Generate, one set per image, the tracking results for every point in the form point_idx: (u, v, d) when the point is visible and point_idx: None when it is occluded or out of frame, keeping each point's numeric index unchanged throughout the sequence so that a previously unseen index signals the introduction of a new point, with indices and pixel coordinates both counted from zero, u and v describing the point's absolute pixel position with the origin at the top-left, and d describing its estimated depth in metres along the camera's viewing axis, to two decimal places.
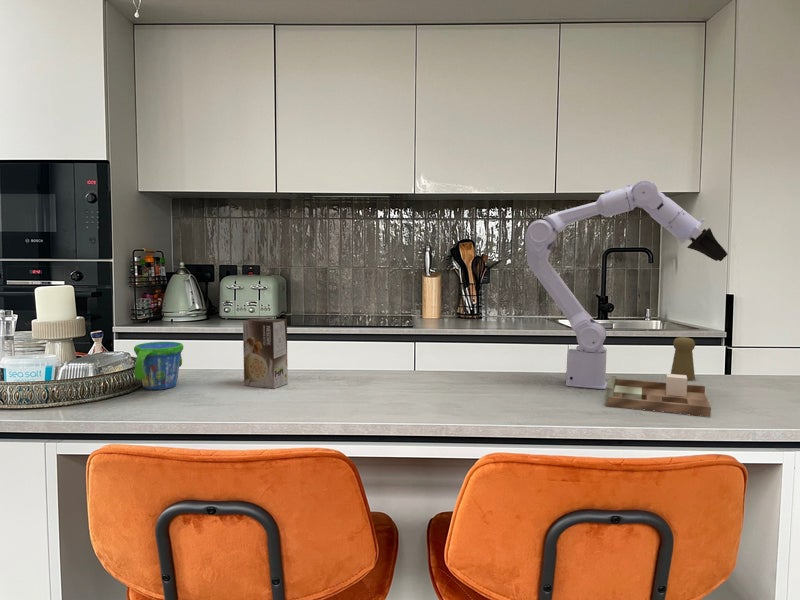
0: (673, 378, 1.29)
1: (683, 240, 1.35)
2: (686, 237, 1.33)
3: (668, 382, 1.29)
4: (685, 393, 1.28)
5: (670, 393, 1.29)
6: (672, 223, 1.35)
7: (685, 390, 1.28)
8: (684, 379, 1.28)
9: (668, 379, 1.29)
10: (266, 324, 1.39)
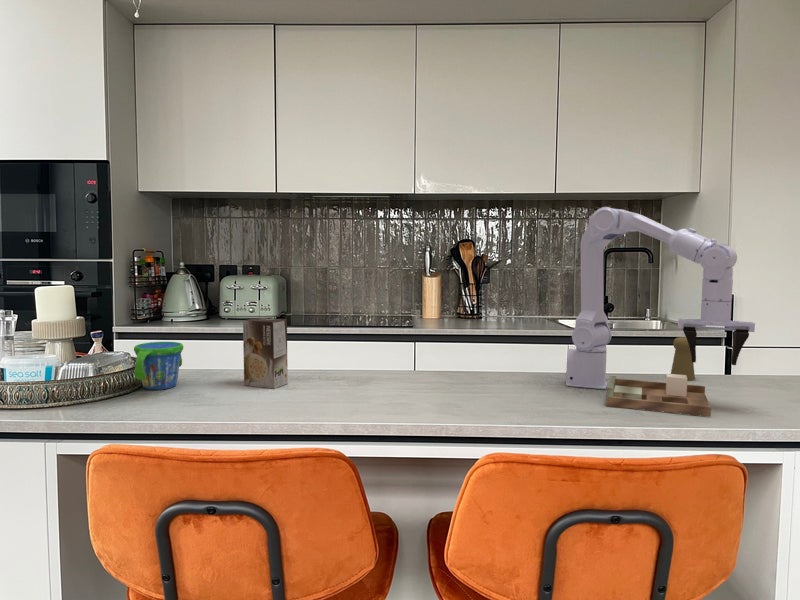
0: (673, 378, 1.29)
1: None
2: None
3: (668, 382, 1.29)
4: (685, 393, 1.28)
5: (670, 393, 1.29)
6: None
7: (685, 390, 1.28)
8: (684, 379, 1.28)
9: (668, 379, 1.29)
10: (266, 324, 1.39)
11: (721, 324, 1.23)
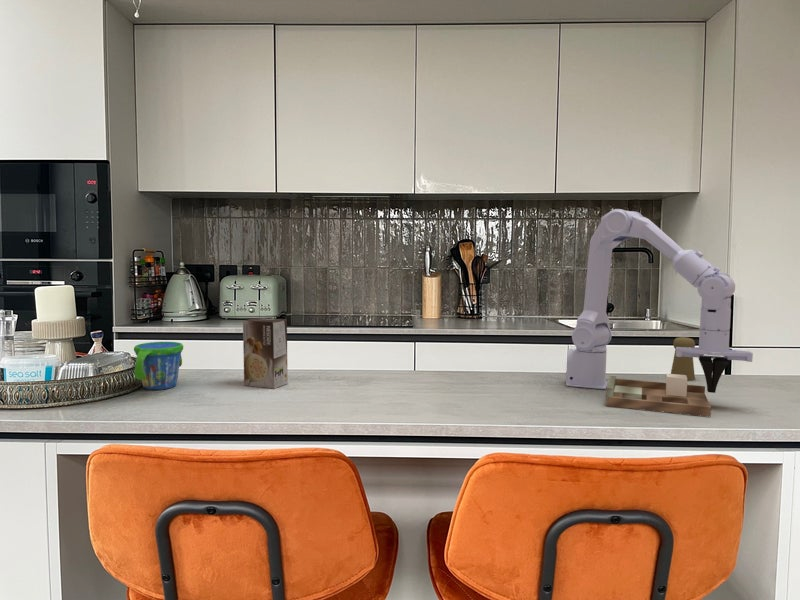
0: (673, 378, 1.29)
1: None
2: None
3: (668, 382, 1.29)
4: (685, 393, 1.28)
5: (670, 393, 1.29)
6: None
7: (685, 390, 1.28)
8: (684, 379, 1.28)
9: (668, 379, 1.29)
10: (265, 324, 1.39)
11: (719, 354, 1.23)
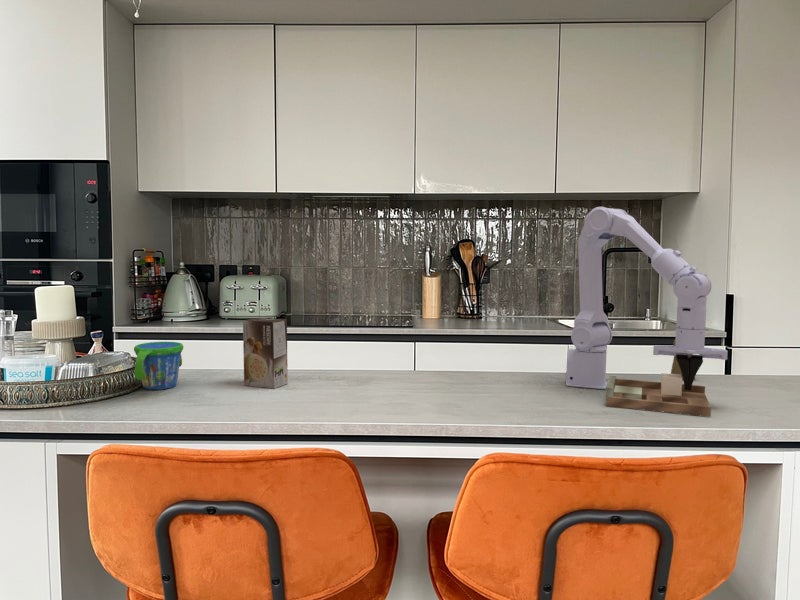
0: (668, 377, 1.29)
1: None
2: None
3: (663, 382, 1.29)
4: (680, 392, 1.28)
5: (665, 392, 1.29)
6: None
7: (680, 389, 1.28)
8: (679, 378, 1.28)
9: (663, 379, 1.29)
10: (266, 324, 1.39)
11: (694, 352, 1.25)
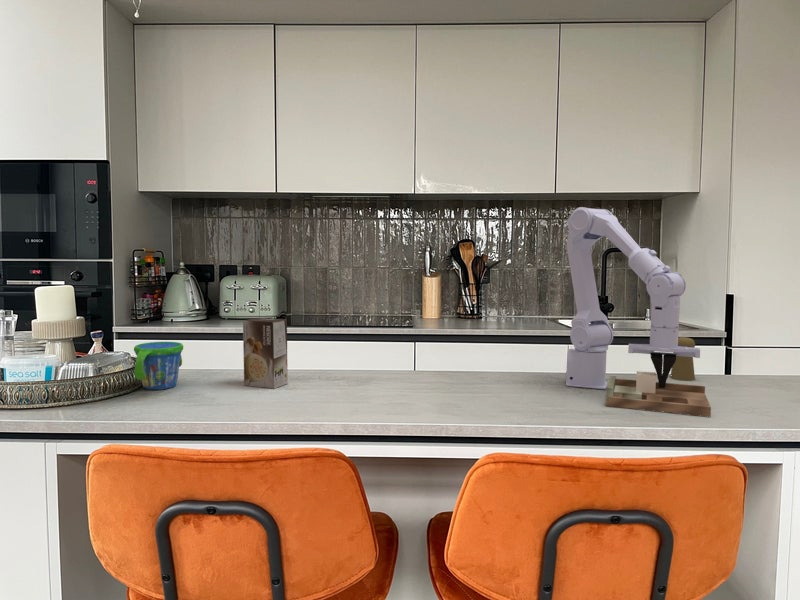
0: (642, 375, 1.31)
1: None
2: None
3: (637, 379, 1.31)
4: (654, 390, 1.30)
5: (639, 390, 1.31)
6: None
7: (654, 387, 1.30)
8: (653, 376, 1.30)
9: (637, 376, 1.31)
10: (266, 324, 1.39)
11: (667, 350, 1.27)
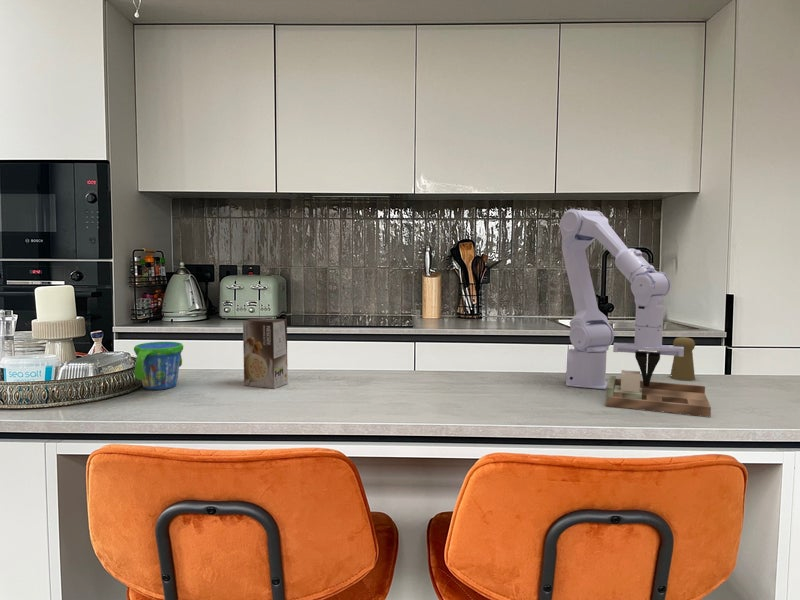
0: (627, 374, 1.32)
1: None
2: None
3: (622, 378, 1.33)
4: (638, 389, 1.31)
5: (624, 389, 1.33)
6: None
7: (638, 386, 1.31)
8: (637, 375, 1.31)
9: (622, 375, 1.33)
10: (266, 324, 1.39)
11: (651, 349, 1.28)
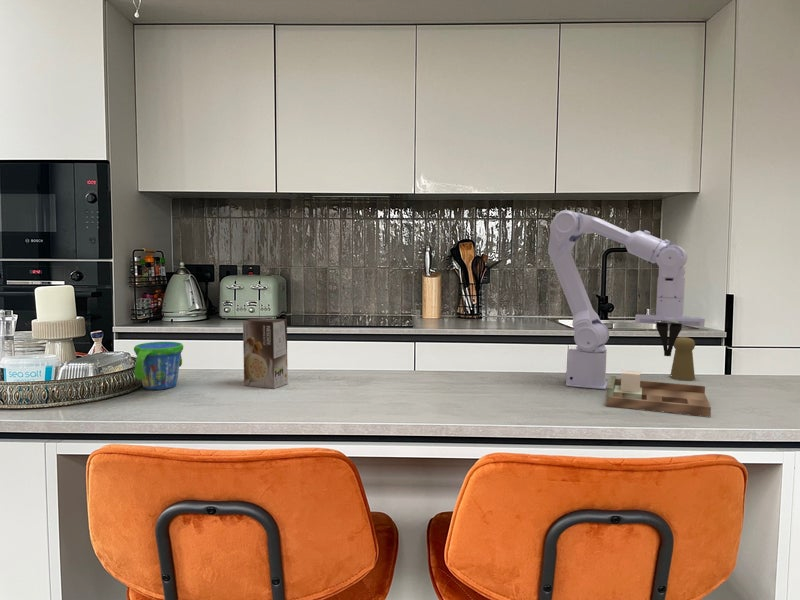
0: (627, 374, 1.32)
1: None
2: None
3: (622, 378, 1.33)
4: (638, 389, 1.31)
5: (624, 389, 1.33)
6: None
7: (638, 386, 1.31)
8: (637, 375, 1.31)
9: (622, 375, 1.33)
10: (266, 324, 1.39)
11: (673, 319, 1.32)
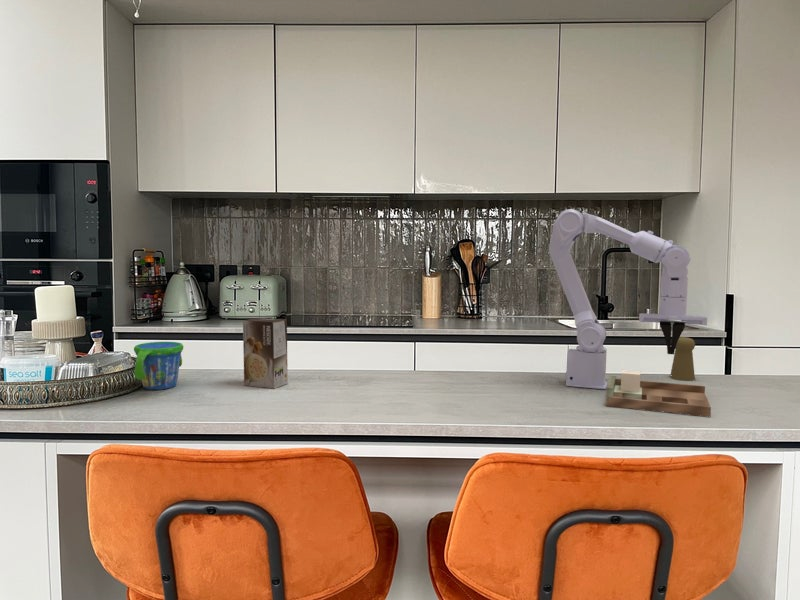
0: (627, 374, 1.32)
1: None
2: None
3: (622, 378, 1.33)
4: (638, 389, 1.31)
5: (624, 389, 1.33)
6: None
7: (638, 386, 1.31)
8: (637, 375, 1.31)
9: (622, 375, 1.33)
10: (265, 324, 1.39)
11: (676, 318, 1.35)
